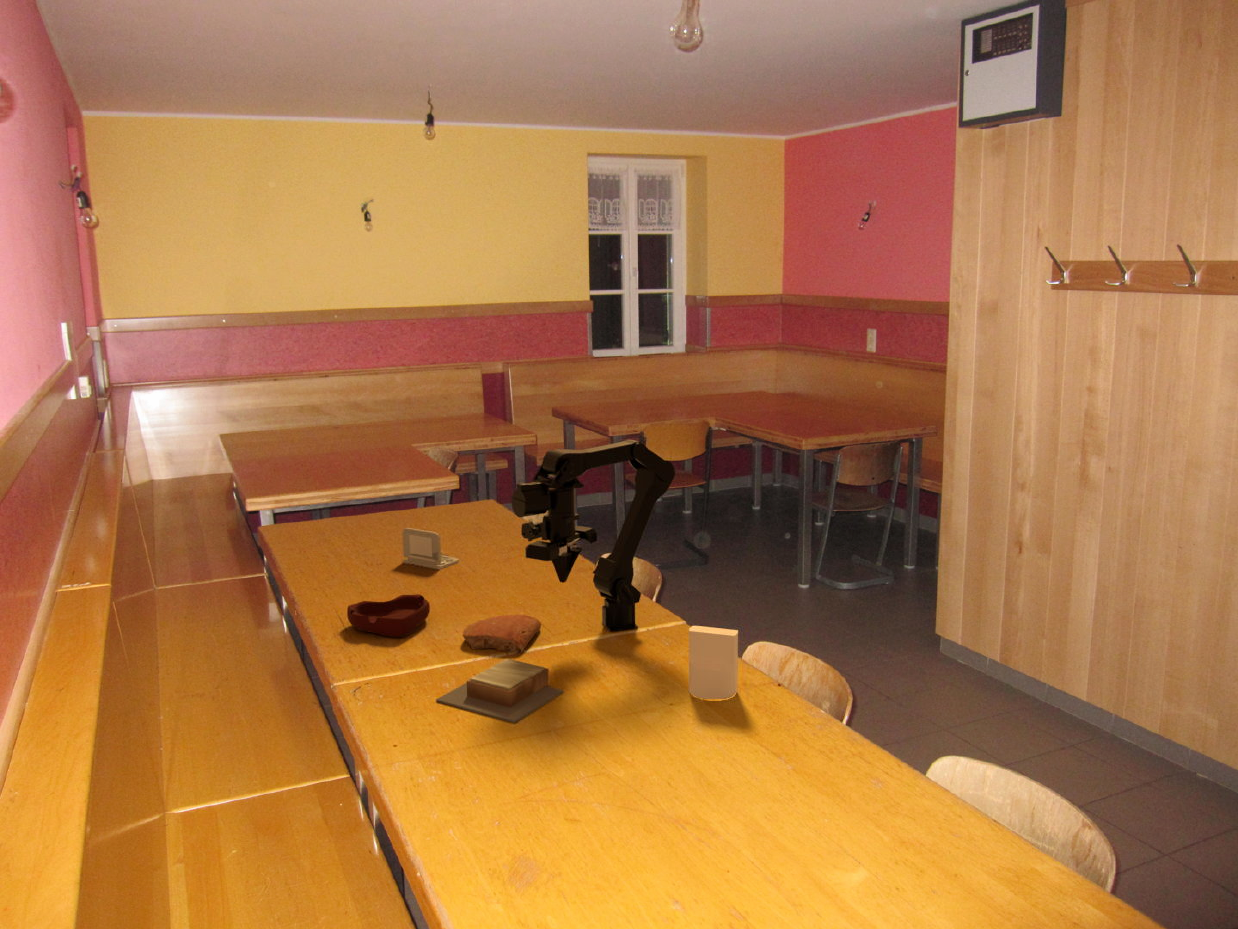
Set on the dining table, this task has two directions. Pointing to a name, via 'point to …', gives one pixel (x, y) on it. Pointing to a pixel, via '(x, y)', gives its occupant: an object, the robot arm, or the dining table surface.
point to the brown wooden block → (508, 682)
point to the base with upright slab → (713, 662)
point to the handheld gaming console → (424, 549)
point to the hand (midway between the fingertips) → (562, 582)
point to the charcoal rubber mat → (495, 710)
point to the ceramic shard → (502, 632)
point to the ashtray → (389, 615)
